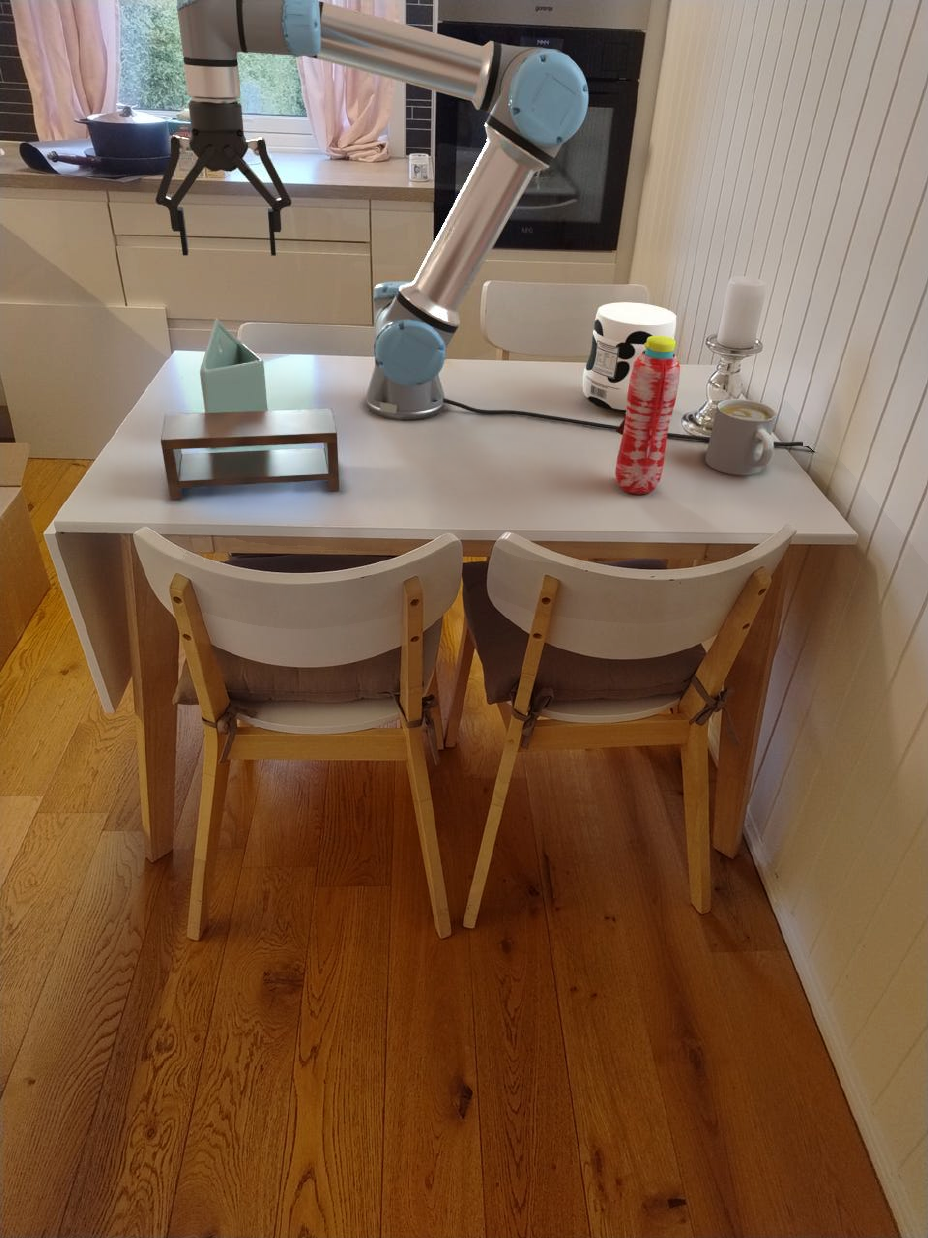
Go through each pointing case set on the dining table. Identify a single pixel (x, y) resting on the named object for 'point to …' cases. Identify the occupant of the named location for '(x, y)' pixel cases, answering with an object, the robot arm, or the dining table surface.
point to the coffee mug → (741, 437)
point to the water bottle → (647, 416)
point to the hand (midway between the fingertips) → (229, 253)
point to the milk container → (621, 349)
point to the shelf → (249, 464)
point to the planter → (231, 375)
